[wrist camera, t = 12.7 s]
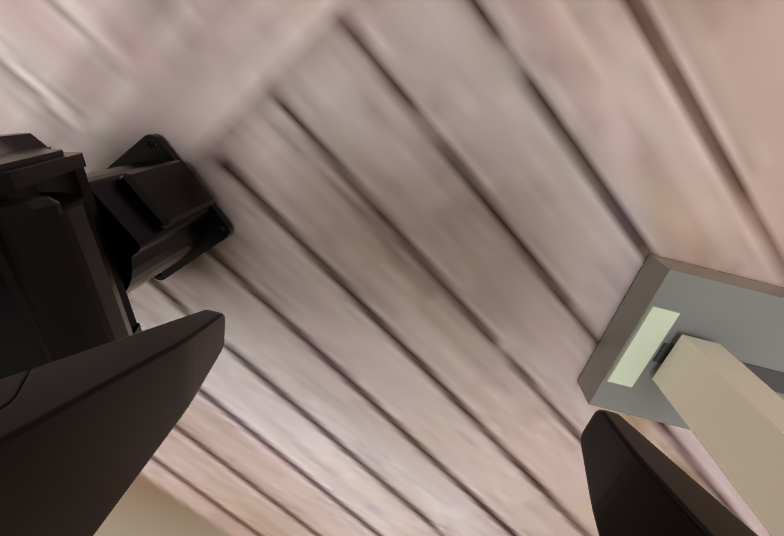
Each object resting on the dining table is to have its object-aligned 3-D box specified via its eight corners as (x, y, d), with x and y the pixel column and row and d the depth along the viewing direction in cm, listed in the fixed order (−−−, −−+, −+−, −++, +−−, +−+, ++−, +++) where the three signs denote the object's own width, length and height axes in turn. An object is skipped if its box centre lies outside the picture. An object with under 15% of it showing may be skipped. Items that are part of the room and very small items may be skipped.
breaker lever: (645, 381, 21) (824, 628, 11) (681, 328, 19) (924, 561, 10) (688, 392, 21) (903, 648, 11) (727, 340, 19) (1016, 584, 10)
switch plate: (577, 381, 24) (589, 406, 22) (649, 254, 20) (672, 271, 18) (761, 427, 24) (790, 457, 22) (868, 308, 20) (916, 332, 18)
